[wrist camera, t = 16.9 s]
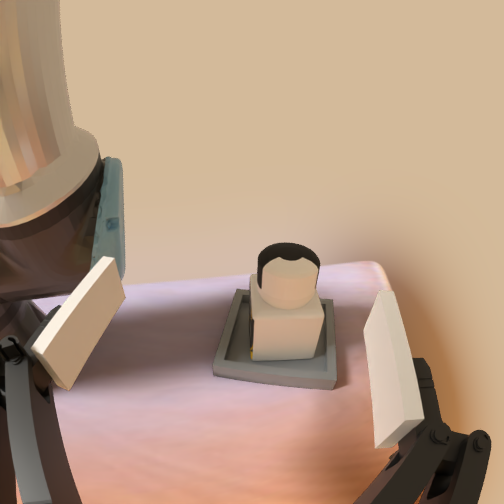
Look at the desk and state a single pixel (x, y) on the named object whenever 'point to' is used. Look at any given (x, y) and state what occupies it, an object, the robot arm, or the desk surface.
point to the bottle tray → (277, 371)
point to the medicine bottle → (285, 304)
